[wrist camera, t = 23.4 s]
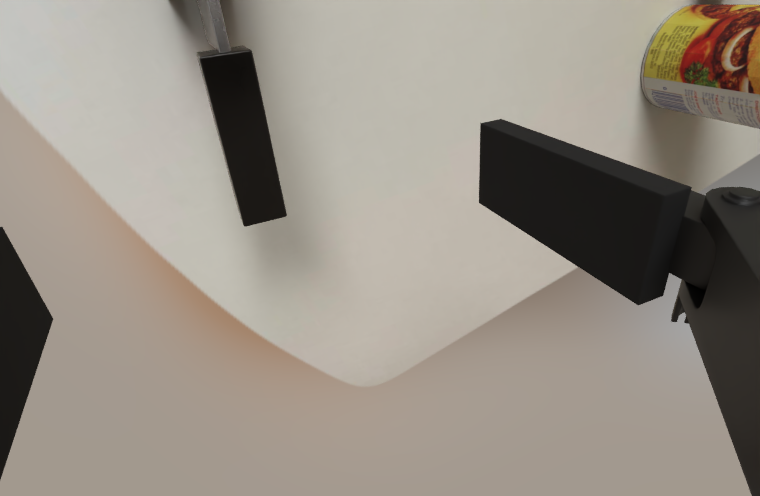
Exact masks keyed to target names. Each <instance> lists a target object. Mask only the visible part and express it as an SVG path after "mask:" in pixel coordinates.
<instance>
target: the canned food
mask: <svg viewBox="0 0 760 496" xmlns="http://www.w3.org/2000/svg"><path fill="white" fill-rule="evenodd" d="M641 81H642V89H643V91H644V94H645V97H646V98H647V99H648V100H649V102H650V103H651V104H653V105H655V106H657V107H661V108H665V109H670V110H675V111H679V112H684V113H689V114H693V115H698V116H703V117H707V118H712V119H717V120H721V121H726V122H731V123H735V124H740V125H745V126H749V127H754V128H759V129H760V5H689V6H685V7H682V8H680V9H678V10H677V11H675V12H674V13H672V14H671V15H670V16H669V17H668V18H667V19H666V20H665V21H664V22H663V23H662V24H661V25H660V27H659V28H658V29H657V31H656V32H655V34H654V35H653V37H652V39H651V41H650V43H649V45H648V47H647V50H646V53H645V56H644V60H643V63H642V72H641Z"/></svg>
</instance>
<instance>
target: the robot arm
mask: <svg viewBox="0 0 760 496" xmlns="http://www.w3.org/2000/svg"><path fill="white" fill-rule="evenodd" d="M691 188H692V187H689V186H687V185H684V184H681V183H678V182H675V181H673V180H670V179H667V178H664V177H661V176H659V175H656V174H653V173H650V172H647V171H645V170H642V169H639V168H636V167H633V166H631V165H628V164H625V163H622V162H620V161H617V160H614V159H611V158H608V157H606V156H603V155H600V154H597V153H594V152H592V151H589V150H586V149H583V148H580V147H578V146H575V145H572V144H569V143H566V142H564V141H561V140H558V139H555V138H553V137H550V136H547V135H544V134H541V133H539V132H536V131H533V130H530V129H527V128H525V127H522V126H519V125H516V124H513V123H511V122H508V121H505V120H502V119H499V120H495V121H490V122H485V123H481V132H480V180H479V203H480V204H482V205H483V206H485V207H487V208H488V209H490V210H491V211H493V212H494V213H496V214H497V215H499V216H500V217H502V218H504V219H505V220H507V221H508V222H510V223H511V224H513V225H514V226H516V227H518V228H519V229H521V230H522V231H524V232H525V233H527V234H528V235H530V236H532V237H533V238H535V239H536V240H538V241H539V242H541V243H542V244H544V245H546V246H547V247H549V248H550V249H552V250H553V251H555V252H556V253H558V254H559V255H561V256H563V257H564V258H566V259H567V260H569V261H570V262H572V263H573V264H575V265H577V266H578V267H580V268H581V269H583V270H585V271H586V272H587V273H589V274H591V275H592V276H594V277H595V278H597V279H598V280H600V281H601V282H603V283H604V284H606V285H608V286H609V287H611V288H612V289H614V290H615V291H617V292H619V293H620V294H622V295H623V296H625V297H626V298H628V299H629V300H631V301H632V302H634V303H636V304H637V305H640V304H643V303H645V302H648V301H651V300H653V299H656V298H658V297H660V296H663V293H664V290H665V286H666V282H667V278H668V275H669V273H671V274H673V275H675V276H677V277H678V278H680V279H682V281H681V285H680V288H679V292H678V295H677V299H676V302H675V306H674V309H673V313H672V319H671V321H672V322H677V320H678V316H679V315H680V314H682V313H684V312H685V314H686V319H685V323H689V324H690V327H691V330H692V333H693V335H694V338H695V341H696V344H697V346H698V349H699V352H700V355H701V357H702V360H703V363H704V366H705V368H706V371H707V374H708V377H709V379H710V382H711V385H712V387H713V390H714V393H715V396H716V399H717V401H718V404H719V407H720V409H721V412H722V415H723V418H724V420H725V423H726V426H727V428H728V431H729V434H730V437H731V439H732V442H733V445H734V448H735V451H736V453H737V456H738V459H739V461H740V464H741V467H742V470H743V473H744V475H745V478H746V481H747V484H748V486H749V489H750V492H751V494H752V496H760V191H756V190H754V189H750V188H744V187H721V188H716V189H712V190H710V191H709V192H707V193H706V196H705V195H702V194H699V193H696V192H694V191H691ZM52 321H53V318H52V316H51V314H50V312H49V310H48V309H47V307H46V305H45V303H44V302H43V300H42V298H41V296H40V294H39V293H38V291H37V289H36V287H35V285H34V283H33V282H32V280H31V278H30V276H29V274H28V272H27V271H26V269H25V267H24V265H23V264H22V262H21V260H20V258H19V256H18V254H17V253H16V251H15V249H14V247H13V245H12V244H11V242H10V240H9V238H8V237H7V235H6V233H5V231H4V229H3V227H0V479H1V476H2V473H3V470H4V467H5V464H6V461H7V458H8V455H9V452H10V449H11V446H12V442H13V440H14V437H15V433H16V430H17V427H18V424H19V421H20V418H21V415H22V412H23V409H24V406H25V403H26V400H27V397H28V394H29V391H30V388H31V385H32V382H33V379H34V376H35V373H36V369H37V366H38V364H39V361H40V357H41V354H42V351H43V348H44V345H45V342H46V339H47V336H48V333H49V330H50V327H51V324H52Z"/></svg>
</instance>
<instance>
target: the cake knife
mask: <svg viewBox="0 0 760 496" xmlns="http://www.w3.org/2000/svg"><path fill="white" fill-rule="evenodd" d="M197 3H198V7H199V11H200V15H201V18H202V22H203V26H204V30H205V34H206V38H207V41H208V42H209V43H210V44H211V45H212V46H213V47H214V48H215V49H216V50H210V51H202V52H197V57H198V61H199V65H200V69H201V72H202V76H203V80H204V84H205V87H206V91H207V95H208V99H209V102H210V106H211V110H212V113H213V117H214V121H215V125H216V128H217V132H218V136H219V140H220V143H221V147H222V151H223V154H224V158H225V162H226V166H227V169H228V173H229V177H230V181H231V184H232V188H233V192H234V196H235V199H236V203H237V207H238V210H239V213H240V216H241V219H242V222H243V225H244V226H250V225H254V224H258V223H262V222H266V221H270V220H274V219H278V218H282V217H286V216H287V214H286V209H285V204H284V200H283V195H282V190H281V185H280V181H279V176H278V171H277V167H276V162H275V157H274V153H273V148H272V143H271V138H270V134H269V129H268V124H267V120H266V115H265V110H264V105H263V101H262V96H261V91H260V87H259V82H258V77H257V73H256V68H255V63H254V58H253V54H252V51H251V50H250V49H248V48H247V47H245V46H238V47H231V48H230V44H229V40H228V35H227V31H226V27H225V23H224V18H223V14H222V10H221V5H220V1H219V0H197Z"/></svg>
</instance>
